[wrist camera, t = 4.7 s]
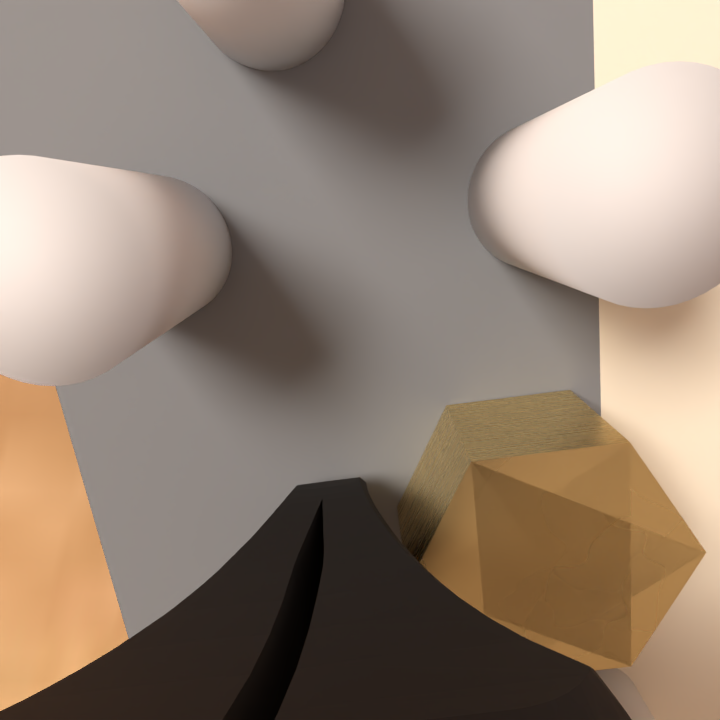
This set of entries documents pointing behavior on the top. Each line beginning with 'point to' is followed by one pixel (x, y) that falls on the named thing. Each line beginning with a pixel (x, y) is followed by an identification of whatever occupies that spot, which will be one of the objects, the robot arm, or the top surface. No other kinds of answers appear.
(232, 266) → the board
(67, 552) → the top surface
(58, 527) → the top surface
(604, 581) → the tan faceted polyhedron
